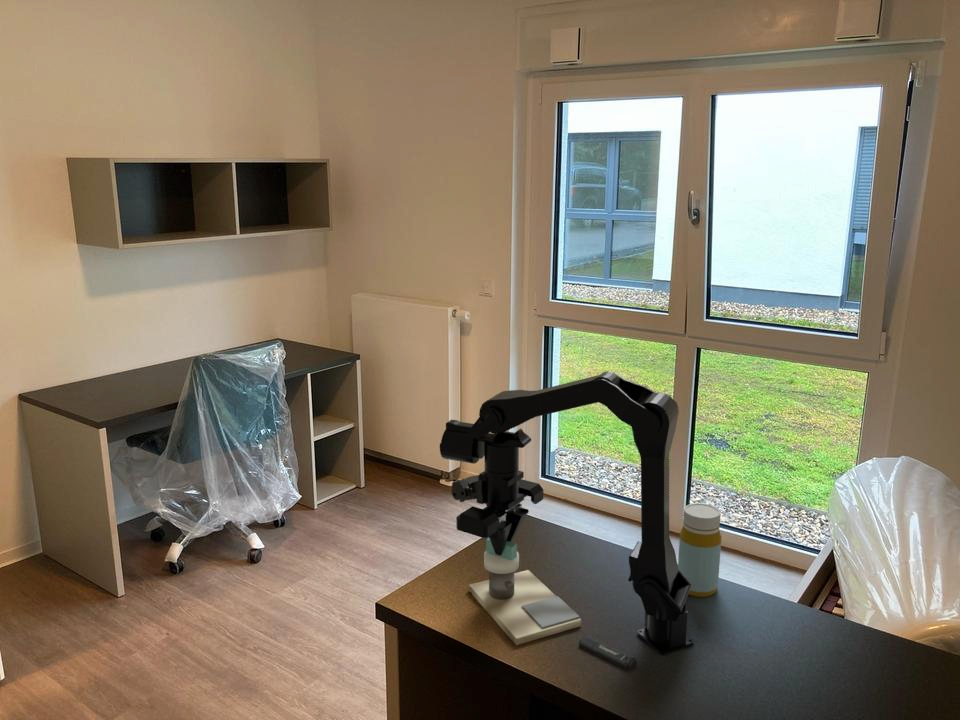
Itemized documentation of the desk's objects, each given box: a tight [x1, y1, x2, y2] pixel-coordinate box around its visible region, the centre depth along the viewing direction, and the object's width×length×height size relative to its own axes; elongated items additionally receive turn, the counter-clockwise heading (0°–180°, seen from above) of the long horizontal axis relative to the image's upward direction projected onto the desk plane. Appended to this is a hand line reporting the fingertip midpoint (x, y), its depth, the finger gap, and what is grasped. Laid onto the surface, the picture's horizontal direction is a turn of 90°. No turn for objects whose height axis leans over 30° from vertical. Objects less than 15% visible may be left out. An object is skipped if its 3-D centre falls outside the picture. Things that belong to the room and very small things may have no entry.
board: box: [468, 569, 582, 646], centre depth 131 cm, size 18×12×5 cm, turn 25°
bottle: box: [677, 502, 722, 598], centre depth 136 cm, size 7×7×15 cm
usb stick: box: [578, 635, 637, 671], centre depth 119 cm, size 10×3×2 cm, turn 47°
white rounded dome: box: [483, 537, 520, 574], centre depth 133 cm, size 6×6×4 cm
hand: (501, 552), depth 132 cm, fingers closed on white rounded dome, 2 cm apart
